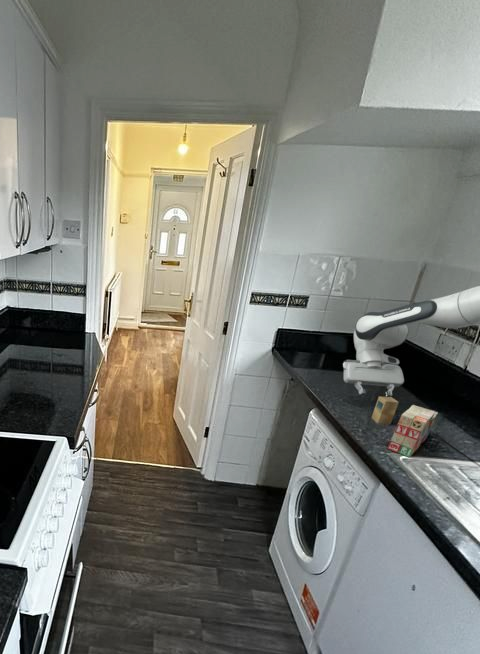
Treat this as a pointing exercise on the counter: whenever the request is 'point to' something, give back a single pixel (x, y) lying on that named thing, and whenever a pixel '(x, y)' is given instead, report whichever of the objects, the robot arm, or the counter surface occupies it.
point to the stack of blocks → (412, 430)
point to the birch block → (384, 410)
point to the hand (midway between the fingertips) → (375, 395)
